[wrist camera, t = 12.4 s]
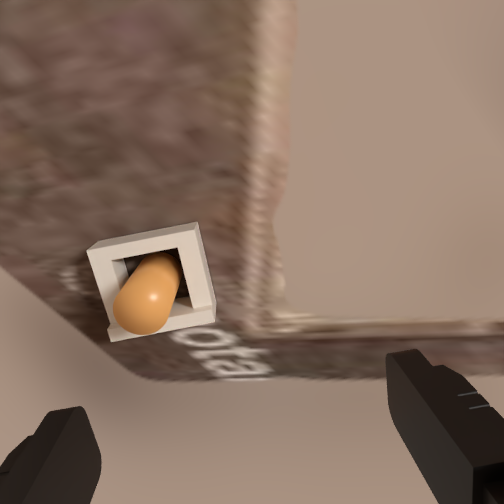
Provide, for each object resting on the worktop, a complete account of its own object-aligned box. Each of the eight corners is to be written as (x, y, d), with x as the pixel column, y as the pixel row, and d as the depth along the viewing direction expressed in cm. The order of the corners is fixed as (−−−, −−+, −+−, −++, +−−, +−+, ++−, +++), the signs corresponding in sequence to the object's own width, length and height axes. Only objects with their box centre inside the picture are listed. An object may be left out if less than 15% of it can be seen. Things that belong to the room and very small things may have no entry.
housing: (98, 241, 34) (81, 254, 30) (197, 221, 34) (193, 232, 30) (123, 320, 36) (111, 342, 33) (216, 302, 36) (214, 321, 33)
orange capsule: (133, 256, 35) (105, 290, 27) (176, 248, 35) (161, 279, 27) (144, 296, 36) (121, 339, 28) (186, 288, 36) (174, 329, 28)
